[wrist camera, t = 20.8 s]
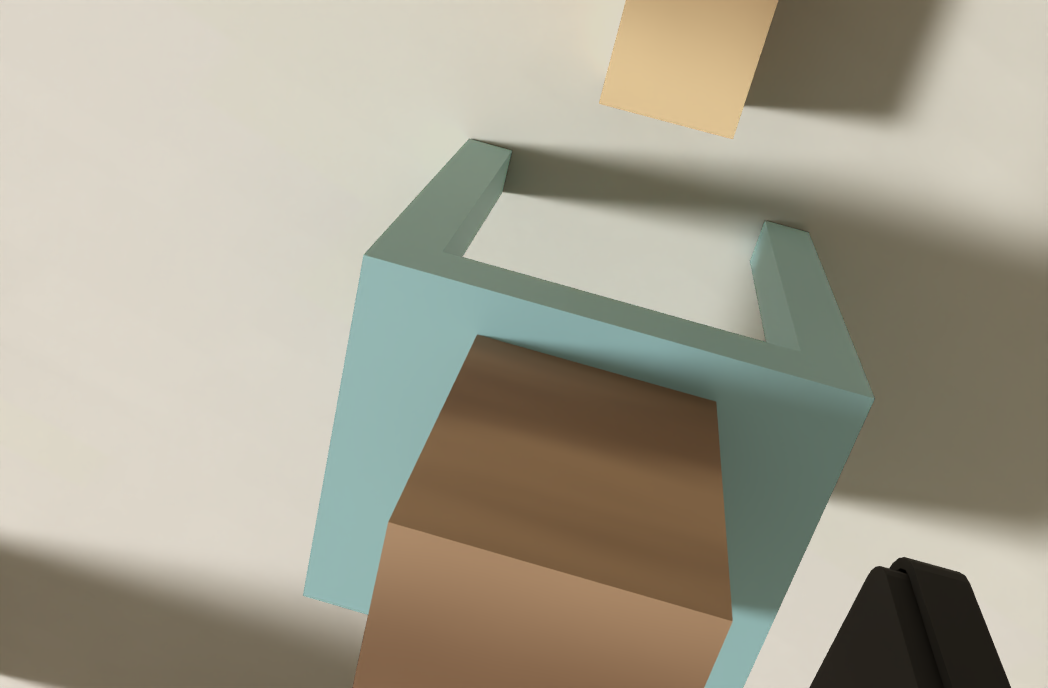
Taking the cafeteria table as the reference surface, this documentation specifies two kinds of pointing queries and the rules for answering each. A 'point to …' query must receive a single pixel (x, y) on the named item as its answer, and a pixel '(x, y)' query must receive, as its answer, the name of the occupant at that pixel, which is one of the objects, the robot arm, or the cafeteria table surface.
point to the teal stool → (602, 342)
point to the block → (554, 536)
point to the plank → (687, 60)
